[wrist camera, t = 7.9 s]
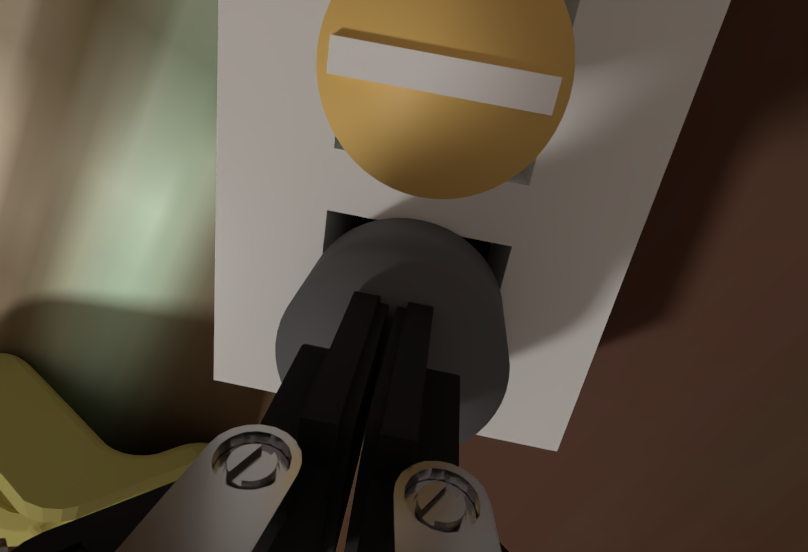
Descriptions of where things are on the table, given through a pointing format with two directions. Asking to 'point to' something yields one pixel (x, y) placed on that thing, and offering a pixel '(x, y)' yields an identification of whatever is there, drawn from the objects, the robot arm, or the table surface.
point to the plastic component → (63, 459)
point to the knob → (419, 283)
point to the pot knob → (445, 88)
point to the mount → (468, 217)
